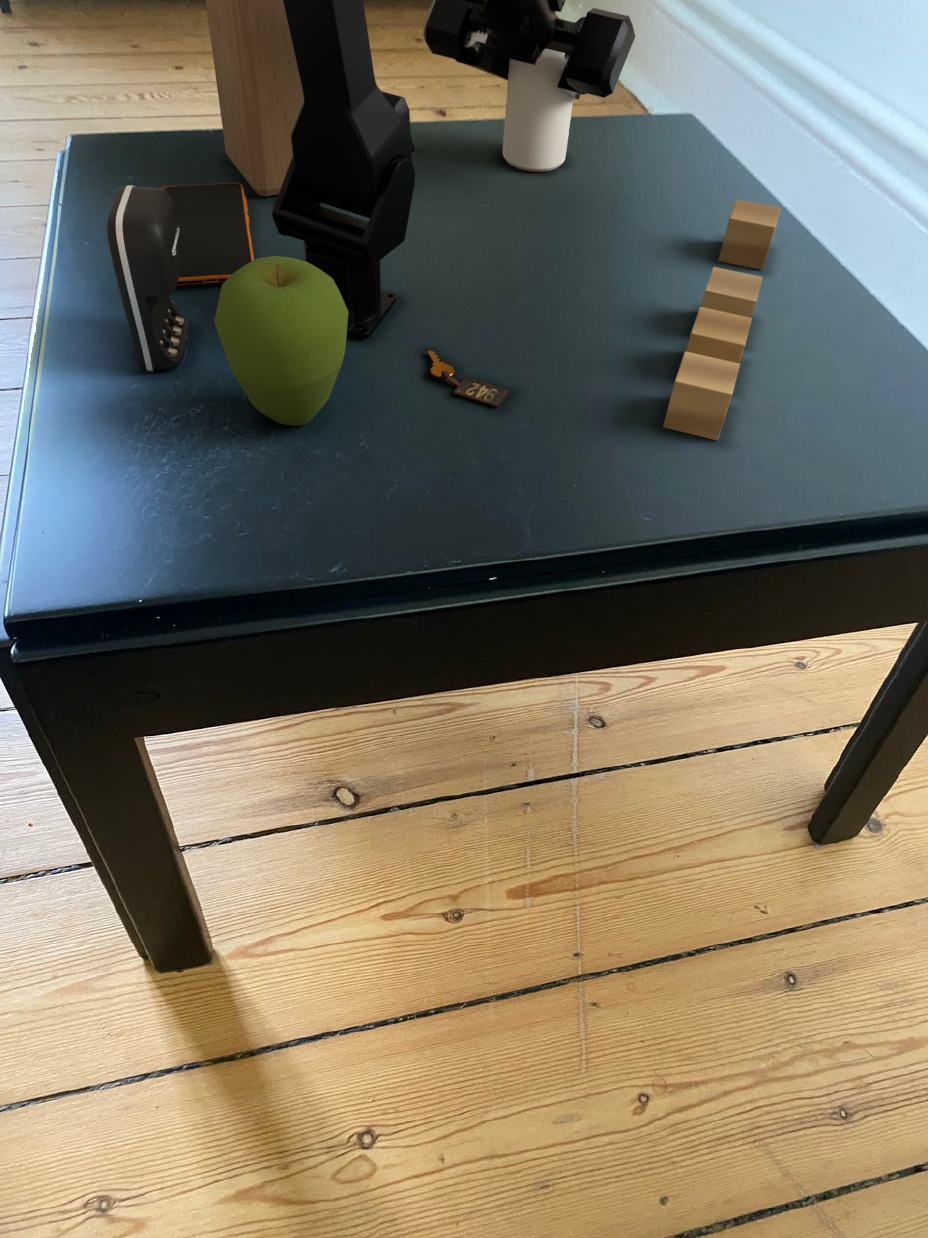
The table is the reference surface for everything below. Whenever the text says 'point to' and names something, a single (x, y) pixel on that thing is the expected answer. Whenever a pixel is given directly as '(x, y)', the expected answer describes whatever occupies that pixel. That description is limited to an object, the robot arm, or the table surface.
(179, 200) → the smartphone
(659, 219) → the table surface
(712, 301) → the block
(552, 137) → the can
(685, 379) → the block
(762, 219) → the block
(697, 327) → the block
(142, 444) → the table surface
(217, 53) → the wooden block
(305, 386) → the apple
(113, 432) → the table surface
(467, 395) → the key tag
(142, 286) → the battery charger
